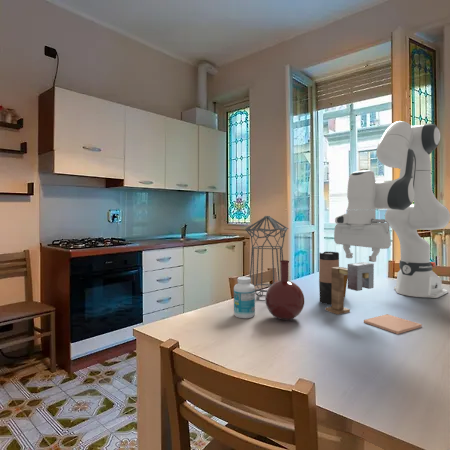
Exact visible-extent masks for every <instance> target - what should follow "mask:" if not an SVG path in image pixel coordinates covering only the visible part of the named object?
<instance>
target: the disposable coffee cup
mask: <svg viewBox="0 0 450 450" xmlns="http://www.w3.org/2000/svg"><path fill="white" fill-rule="evenodd" d="M340 267H341V268H344V269H348V267H344V266H340ZM347 287H348V275H346V274H344V298H346V292H347Z"/></svg>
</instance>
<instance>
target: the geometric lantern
mask: <svg viewBox="0 0 450 450" xmlns="http://www.w3.org/2000/svg"><path fill="white" fill-rule="evenodd" d="M263 223H264V226H263ZM270 224H271V225H272V228H273V229H271V228H270ZM262 226H263V228H262ZM266 226H267V227H268V228H266ZM244 230H245V232H247V234H248V235H249V236H250V240H251V241H250V242H251V253H250V255H251V256H250V271H249V277H250V278H251V279H252V281H251V282H250V283H251V284H253V285H254V287H257V288H258V289H257V288H255V296H256V301H262V302H265V299H260V297H266V294H263V293H267V290H268V289H267V290H266V289H263V286H269V287H270V286H271V285H272V284H274V283H275V265H274V264H275V263H274V250H275V253H276V254H275V255H276V266H277V280H278V281H281V263H280V261H282V260H284V251H283V250H284V249H283V248H284V244H285V243H284V242H285V237H286V233H287V231H288V230H289V228H288V227H287V226H286V225H284V224H282V223H281V222H279V221H277V220H276V219H274V218H273V217H272V216H270V215H264V217H262V218H259V220H257V221H256V222H254V223H252V224H251V225H249V226H248V227H246V228H245V229H244ZM255 231H256V233H257V234H255ZM277 231H278V232H277ZM259 232H262V233H263V234H264V236H260V235H259ZM266 232H268V233H266ZM273 233H275V234H274V235H272V234H273ZM279 234H280V236H279V237H278V240H277V239H276V236H278V235H279ZM255 237H256V238H255ZM269 237H272V238H274V240H275V241H276V245H272V243H271V242H270V240H269ZM264 238H265V240H264V242H263V244H262V245H259V244H258V242H257V240H258V239H264ZM253 239H254V240H253ZM280 239H282V244H281V245H280V244H279V242H280ZM253 241H254V243H253ZM267 242H268V244H269V245H265V244H266V243H267ZM255 245H256V246H255ZM255 249H257V254H256V255H257V257H256V277H255ZM260 250H261V259H260V260H261V262H260V263H261V268H260V270H261V271H260V273H261V274H260V276H261V277H260V283H258V279H259V278H258V277H259V276H258V275H259V255H260V254H259V253H260ZM264 250H271V260H272V263H271V264H272V282H273V283H272V284H271V283H270V284H269V283H268V284H267V283H263V272H264V271H263V267H264V266H263V262H264V261H263V259H264V257H263V256H264V255H263V254H264ZM278 250H279V252H278ZM279 265H280V266H279ZM279 268H280V269H279ZM254 278H255V279H254ZM254 282H255V283H254ZM259 286H261V289H260V287H259Z"/></svg>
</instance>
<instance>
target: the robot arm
mask: <svg viewBox="0 0 450 450" xmlns="http://www.w3.org/2000/svg"><path fill="white" fill-rule="evenodd" d="M440 140H441V132H440V129H439V127H438V126H437V125H436V124H434V123H425V124H419V125H411V124H410V123H409V122H406V121H401V120H399V121H398V120H397V121H395V122H393V123H391V124H390V125H389V126H388V127H387V129H386V130H385V131H384V132H383V134H382V136H381V137H380V140H379V142H378V144H377V147H376V152H375V153H376V158H377V159H378V162H380V163H381V164H382V165H384V166H386V167H389V168H393V169H394V168H395V169H398V170H399V169H400V171H399V177H398V178H396V179H392V180H381V181H377V180H376V177H375V172H374V170H371V169H367V170H366V169H365V170H357V171H353V172H351V173H350V174H349V177H348V180H347V190H346V191H347V194H346V195H347V201H348V205H347V208H346V213H344V214H341V215H339V216H337V217H335V219H334V223H335V225H334V233H333V237H334V239H333V240H334V242H335V244H336V245H342V248H343V251H344V252H345V258H346V259H353V255H354V253H353V252H352V251H351V249H350V248H351V246H353V247H354V246H355V247H360V248H370V249H371V252H372V253H371V255H369V256H368V262H370V263H375V262H377V257H378V255H379V253H380V251H381V250H384V249H385V250H386V249H389V248H390V247H391V246H392V245H391V243H392V241H391V232H390V231H391V230H390V228H391V229H392V230H393V231H394V232H395V234H396V236H397V239H398V241H399V245H400V248H399V249H400V260H399V265H398V266H399V270H398V271H397V274H396V275H397V277H396V283H395V284H396V286H394V287H393V290H395V292H396V293H397V294H400V295H402V296H407V297H414V298H429V299H431V298H432V299H437V298H440V297H443V296H444V295H446V294H448V293H449V291H448V289H445V288H443V287H442V286H443V282H442V279H441V277H439V276H438V275H437V274H436V272H434V271H433V267H436V265H437V264H436V262H435V261H431V245H430V243H429V242H428V241H427V240H426V239H425V238H423V237H421V236H420V235H419V233H418V230H420V231H421V230H422V231H423V230H426V231H427V230H428V231H433V230H434V231H435V230H442V229H445V228H446V227H447V226H448V224H449V222H450V211H449V209H448V208H447V207H446V206H445V205H443V204H442V203H441V202H440V201H439V200H438V199H437V197H436V196H435V194H434V192H433V188H432V161H431V154H432V152H434V150H436V148H437V147H438V146H439V145H440ZM376 210H386V211H385V214H384V219H383V218H381V219H380V218H379V219H378V218H376ZM380 249H381V250H380Z"/></svg>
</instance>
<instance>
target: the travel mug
mask: <svg viewBox="0 0 450 450" xmlns="http://www.w3.org/2000/svg"><path fill="white" fill-rule="evenodd" d="M318 254H319V257H318V260H319V262H318V263H319V264H318V267H319V269H318V270H319V271H318V286H319V287H318V289H319V290H318V291H319V303H321V304H322V305H326V306H327V305H328V306H332V267H340V253H339V252H337V251H324V252H319V253H318Z"/></svg>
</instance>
